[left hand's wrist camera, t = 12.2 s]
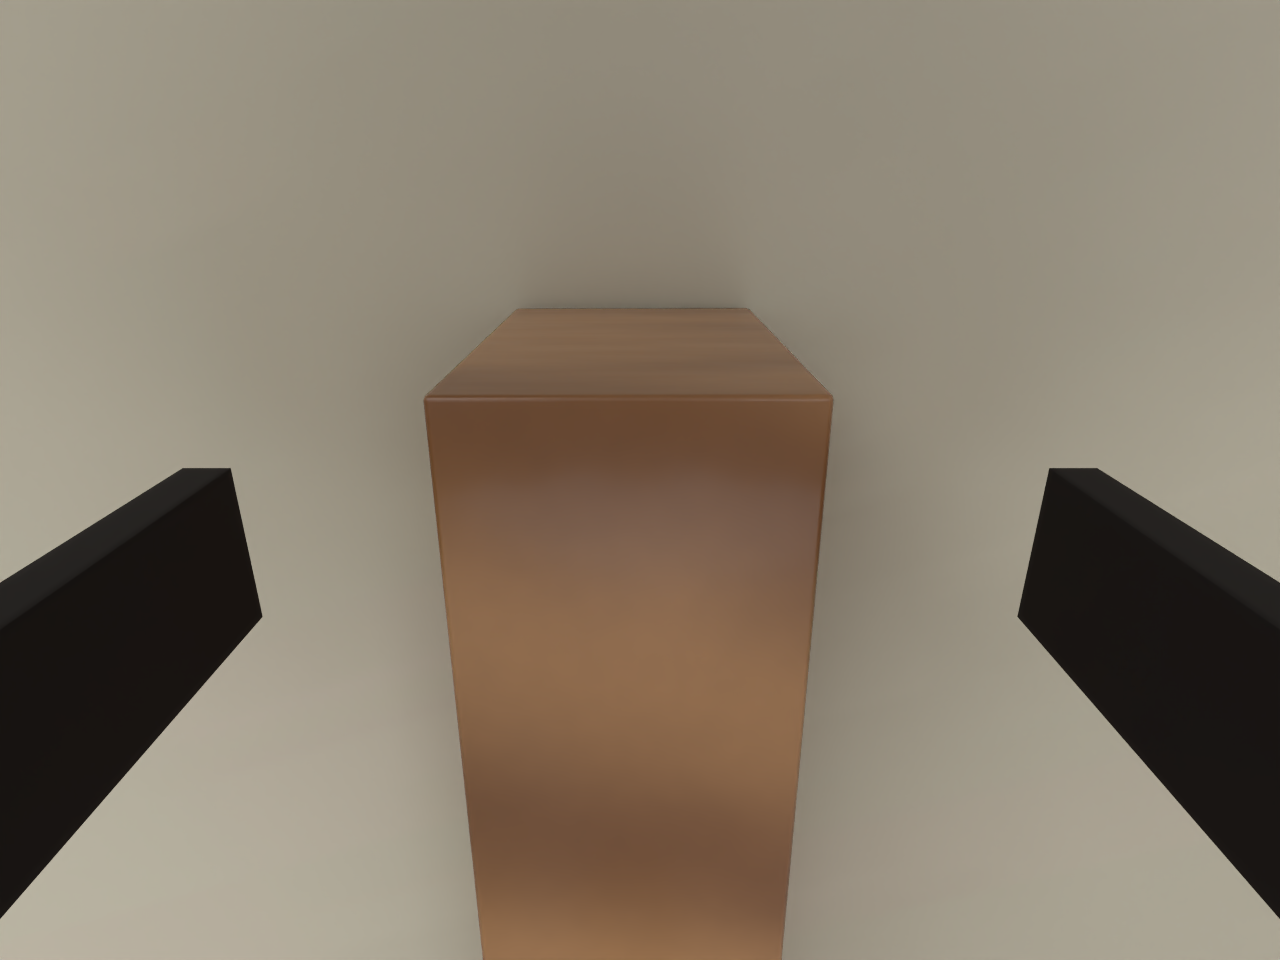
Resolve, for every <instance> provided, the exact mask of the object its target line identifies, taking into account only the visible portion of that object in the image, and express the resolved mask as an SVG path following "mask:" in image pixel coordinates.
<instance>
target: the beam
mask: <svg viewBox="0 0 1280 960" xmlns="http://www.w3.org/2000/svg"><path fill="white" fill-rule="evenodd" d="M424 409H425V419H426V428H427V437H428V447H429V456H430V466H431V475H432V484H433V494H434V503H435V513H436V522H437V531H438V541H439V550H440V560H441V569H442V578H443V588H444V597H445V606H446V616H447V625H448V635H449V644H450V653H451V663H452V672H453V682H454V691H455V700H456V710H457V719H458V729H459V738H460V747H461V757H462V766H463V776H464V785H465V794H466V804H467V813H468V823H469V832H470V841H471V851H472V860H473V869H474V879H475V888H476V898H477V907H478V916H479V926H480V935H481V945H482V954H483V960H781V959H782V948H783V937H784V927H785V916H786V905H787V894H788V884H789V873H790V862H791V851H792V841H793V830H794V819H795V808H796V798H797V787H798V776H799V765H800V755H801V744H802V733H803V722H804V712H805V701H806V690H807V679H808V669H809V658H810V647H811V636H812V625H813V615H814V604H815V593H816V582H817V572H818V561H819V550H820V539H821V529H822V518H823V507H824V496H825V486H826V475H827V464H828V453H829V443H830V432H831V421H832V410H833V397H832V395H831V394H830V393H829V392H828V391H827V390H826V389H825V388H824V387H823V386H822V385H821V384H820V382H819V381H818V380H817V379H816V378H815V377H814V376H813V375H812V374H811V373H810V372H809V371H808V370H807V369H806V368H805V367H804V366H803V365H802V364H801V363H800V362H799V361H798V360H797V359H796V358H795V357H794V355H793V354H792V353H791V352H790V351H789V350H788V349H787V348H786V347H785V346H784V345H783V344H782V343H781V342H780V341H779V340H778V339H777V338H776V337H775V336H774V335H773V334H772V333H771V332H770V331H769V330H768V328H767V327H766V326H765V325H764V324H763V323H762V322H761V321H760V320H759V319H758V318H757V317H756V316H755V315H754V314H753V313H752V312H751V311H750V310H749V309H747V308H704V309H517V310H515V311H514V312H513V313H512V314H511V315H510V316H509V317H508V318H507V319H506V320H505V321H504V322H503V323H502V324H501V325H500V326H499V327H498V328H496V329H495V330H494V331H493V332H492V333H491V334H490V335H489V336H488V337H487V338H486V339H485V340H484V341H483V342H482V343H481V344H480V345H478V346H477V347H476V348H475V349H474V350H473V351H472V352H471V353H470V354H469V355H468V356H467V357H466V358H465V359H464V360H463V361H462V362H461V363H459V364H458V365H457V366H456V367H455V368H454V369H453V370H452V371H451V372H450V373H449V374H448V375H447V376H446V377H445V378H444V379H443V380H442V381H440V382H439V383H438V384H437V385H436V386H435V387H434V388H433V389H432V390H431V391H430V392H429V393H428V394H427V395H426V396H425V398H424Z"/></svg>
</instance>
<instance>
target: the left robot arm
mask: <svg viewBox="0 0 1280 960" xmlns="http://www.w3.org/2000/svg"><path fill="white" fill-rule="evenodd" d="M261 618H262V612H261V607H260V603H259V598H258V593H257V589H256V584H255V580H254V575H253V570H252V566H251V561H250V556H249V552H248V547H247V542H246V538H245V533H244V528H243V524H242V519H241V514H240V510H239V505H238V500H237V496H236V491H235V486H234V482H233V477H232V473H231V468H182V469H181V470H179V471H178V472H176V473H174V474H173V475H171V476H170V477H168V478H167V479H165V480H163V481H162V482H160V483H159V484H157V485H155V486H154V487H152V488H151V489H149V490H147V491H146V492H144V493H143V494H141V495H139V496H138V497H136V498H135V499H133V500H131V501H130V502H128V503H127V504H125V505H123V506H122V507H120V508H119V509H117V510H115V511H114V512H112V513H111V514H109V515H107V516H106V517H104V518H103V519H101V520H100V521H98V522H96V523H95V524H93V525H92V526H90V527H88V528H87V529H85V530H84V531H82V532H80V533H79V534H77V535H76V536H74V537H72V538H71V539H69V540H68V541H66V542H64V543H63V544H61V545H60V546H58V547H56V548H55V549H53V550H52V551H50V552H48V553H47V554H45V555H44V556H42V557H40V558H39V559H37V560H36V561H34V562H32V563H31V564H29V565H28V566H26V567H25V568H23V569H21V570H20V571H18V572H17V573H15V574H13V575H12V576H10V577H9V578H7V579H5V580H4V581H2V582H1V583H0V918H1V917H2V916H3V915H4V914H5V913H6V912H7V910H8V909H9V908H10V907H11V906H12V905H13V903H14V902H15V901H16V900H17V899H18V898H19V897H20V895H21V894H22V893H23V892H24V891H25V890H26V889H27V887H28V886H29V885H30V884H31V883H32V882H33V880H34V879H35V878H36V877H37V876H38V875H39V874H40V872H41V871H42V870H43V869H44V868H45V867H46V865H47V864H48V863H49V862H50V861H51V860H52V859H53V857H54V856H55V855H56V854H57V853H58V852H59V850H60V849H61V848H62V847H63V846H64V845H65V844H66V842H67V841H68V840H69V839H70V838H71V837H72V836H73V834H74V833H75V832H76V831H77V830H78V829H79V827H80V826H81V825H82V824H83V823H84V822H85V821H86V819H87V818H88V817H89V816H90V815H91V814H92V812H93V811H94V810H95V809H96V808H97V807H98V806H99V804H100V803H101V802H102V801H103V800H104V799H105V797H106V796H107V795H108V794H109V793H110V792H111V791H112V789H113V788H114V787H115V786H116V785H117V784H118V783H119V781H120V780H121V779H122V778H123V777H124V776H125V774H126V773H127V772H128V771H129V770H130V769H131V768H132V766H133V765H134V764H135V763H136V762H137V761H138V759H139V758H140V757H141V756H142V755H143V754H144V753H145V751H146V750H147V749H148V748H149V747H150V746H151V745H152V743H153V742H154V741H155V740H156V739H157V738H158V736H159V735H160V734H161V733H162V732H163V731H164V730H165V728H166V727H167V726H168V725H169V724H170V723H171V721H172V720H173V719H174V718H175V717H176V716H177V715H178V713H179V712H180V711H181V710H182V709H183V708H184V706H185V705H186V704H187V703H188V702H189V701H190V700H191V698H192V697H193V696H194V695H195V694H196V693H197V692H198V690H199V689H200V688H201V687H202V686H203V685H204V683H205V682H206V681H207V680H208V679H209V678H210V677H211V675H212V674H213V673H214V672H215V671H216V670H217V668H218V667H219V666H220V665H221V664H222V663H223V662H224V660H225V659H226V658H227V657H228V656H229V655H230V653H231V652H232V651H233V650H234V649H235V648H236V647H237V645H238V644H239V643H240V642H241V641H242V640H243V639H244V637H245V636H246V635H247V634H248V633H249V632H250V630H251V629H252V628H253V627H254V626H255V625H256V624H257V622H258V621H259V620H260V619H261ZM1018 618H1019V619H1020V620H1021V621H1022V622H1023V624H1024V625H1025V626H1026V627H1027V628H1028V629H1029V630H1030V632H1031V633H1032V634H1033V635H1034V636H1035V637H1036V639H1037V640H1038V641H1039V642H1040V643H1041V644H1042V645H1043V647H1044V648H1045V649H1046V650H1047V651H1048V652H1049V653H1050V655H1051V656H1052V657H1053V658H1054V659H1055V660H1056V662H1057V663H1058V664H1059V665H1060V666H1061V667H1062V668H1063V670H1064V671H1065V672H1066V673H1067V674H1068V675H1069V677H1070V678H1071V679H1072V680H1073V681H1074V682H1075V683H1076V685H1077V686H1078V687H1079V688H1080V689H1081V690H1082V692H1083V693H1084V694H1085V695H1086V696H1087V697H1088V698H1089V700H1090V701H1091V702H1092V703H1093V704H1094V705H1095V706H1096V708H1097V709H1098V710H1099V711H1100V712H1101V713H1102V715H1103V716H1104V717H1105V718H1106V719H1107V720H1108V721H1109V723H1110V724H1111V725H1112V726H1113V727H1114V728H1115V730H1116V731H1117V732H1118V733H1119V734H1120V735H1121V736H1122V738H1123V739H1124V740H1125V741H1126V742H1127V743H1128V745H1129V746H1130V747H1131V748H1132V749H1133V750H1134V751H1135V753H1136V754H1137V755H1138V756H1139V757H1140V758H1141V759H1142V761H1143V762H1144V763H1145V764H1146V765H1147V766H1148V768H1149V769H1150V770H1151V771H1152V772H1153V773H1154V774H1155V776H1156V777H1157V778H1158V779H1159V780H1160V781H1161V783H1162V784H1163V785H1164V786H1165V787H1166V788H1167V789H1168V791H1169V792H1170V793H1171V794H1172V795H1173V796H1174V797H1175V799H1176V800H1177V801H1178V802H1179V803H1180V804H1181V806H1182V807H1183V808H1184V809H1185V810H1186V811H1187V812H1188V814H1189V815H1190V816H1191V817H1192V818H1193V819H1194V821H1195V822H1196V823H1197V824H1198V825H1199V826H1200V827H1201V829H1202V830H1203V831H1204V832H1205V833H1206V834H1207V836H1208V837H1209V838H1210V839H1211V840H1212V841H1213V842H1214V844H1215V845H1216V846H1217V847H1218V848H1219V849H1220V850H1221V852H1222V853H1223V854H1224V855H1225V856H1226V857H1227V859H1228V860H1229V861H1230V862H1231V863H1232V864H1233V865H1234V867H1235V868H1236V869H1237V870H1238V871H1239V872H1240V874H1241V875H1242V876H1243V877H1244V878H1245V879H1246V880H1247V882H1248V883H1249V884H1250V885H1251V886H1252V887H1253V889H1254V890H1255V891H1256V892H1257V893H1258V894H1259V895H1260V897H1261V898H1262V899H1263V900H1264V901H1265V902H1266V903H1267V905H1268V906H1269V907H1270V908H1271V909H1272V910H1273V912H1274V913H1275V914H1276V915H1277V916H1278V917H1279V918H1280V583H1279V582H1278V581H1276V580H1275V579H1273V578H1271V577H1270V576H1268V575H1267V574H1265V573H1263V572H1262V571H1260V570H1259V569H1257V568H1255V567H1254V566H1252V565H1251V564H1249V563H1248V562H1246V561H1244V560H1243V559H1241V558H1240V557H1238V556H1236V555H1235V554H1233V553H1232V552H1230V551H1228V550H1227V549H1225V548H1224V547H1222V546H1220V545H1219V544H1217V543H1216V542H1214V541H1212V540H1211V539H1209V538H1208V537H1206V536H1204V535H1203V534H1201V533H1200V532H1198V531H1196V530H1195V529H1193V528H1192V527H1190V526H1188V525H1187V524H1185V523H1184V522H1182V521H1180V520H1179V519H1177V518H1176V517H1174V516H1173V515H1171V514H1169V513H1168V512H1166V511H1165V510H1163V509H1161V508H1160V507H1158V506H1157V505H1155V504H1153V503H1152V502H1150V501H1149V500H1147V499H1145V498H1144V497H1142V496H1141V495H1139V494H1137V493H1136V492H1134V491H1133V490H1131V489H1129V488H1128V487H1126V486H1125V485H1123V484H1121V483H1120V482H1118V481H1117V480H1115V479H1113V478H1112V477H1110V476H1109V475H1107V474H1106V473H1104V472H1102V471H1101V470H1099V469H1098V468H1049V473H1048V477H1047V482H1046V486H1045V491H1044V496H1043V500H1042V505H1041V510H1040V514H1039V519H1038V524H1037V528H1036V533H1035V538H1034V542H1033V547H1032V552H1031V556H1030V561H1029V566H1028V570H1027V575H1026V580H1025V584H1024V589H1023V593H1022V598H1021V603H1020V607H1019V612H1018Z"/></svg>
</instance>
